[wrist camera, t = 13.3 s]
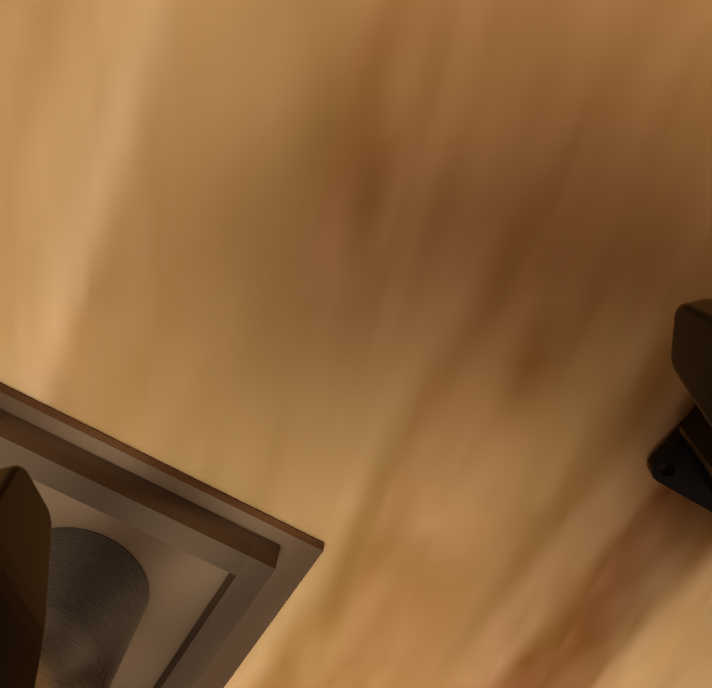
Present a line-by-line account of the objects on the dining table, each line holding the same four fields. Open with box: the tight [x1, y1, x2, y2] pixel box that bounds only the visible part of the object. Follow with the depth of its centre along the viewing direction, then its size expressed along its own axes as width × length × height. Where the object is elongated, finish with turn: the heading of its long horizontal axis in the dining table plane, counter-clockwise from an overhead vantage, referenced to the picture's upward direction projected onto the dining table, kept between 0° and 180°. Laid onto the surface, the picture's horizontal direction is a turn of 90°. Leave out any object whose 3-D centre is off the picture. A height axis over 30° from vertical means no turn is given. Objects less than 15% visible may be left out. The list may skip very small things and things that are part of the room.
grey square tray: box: [0, 383, 324, 688], centre depth 25 cm, size 14×12×2 cm
